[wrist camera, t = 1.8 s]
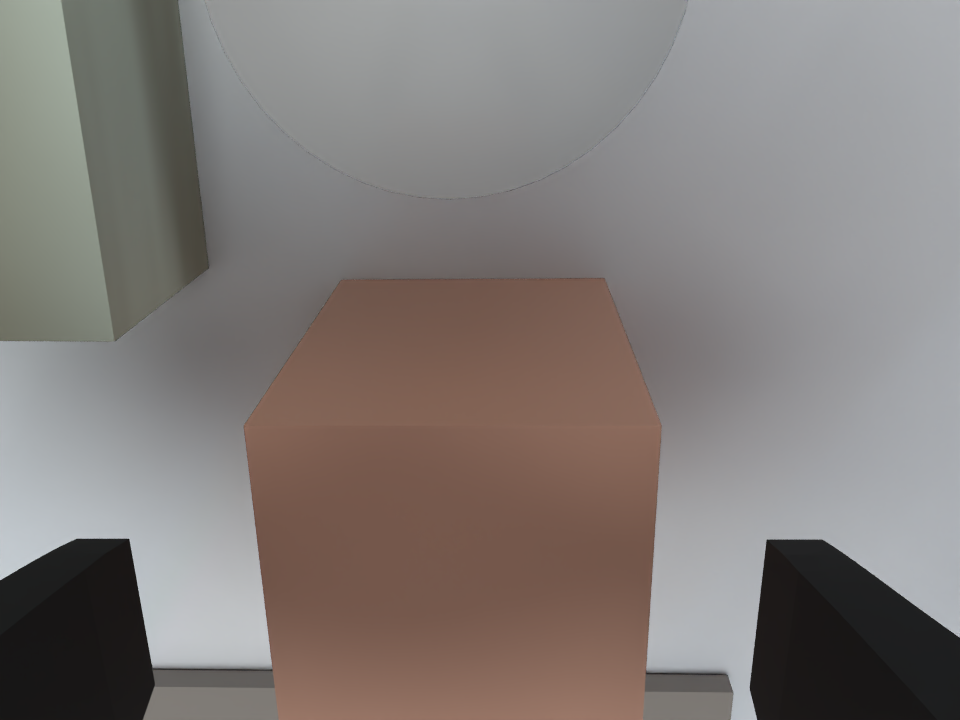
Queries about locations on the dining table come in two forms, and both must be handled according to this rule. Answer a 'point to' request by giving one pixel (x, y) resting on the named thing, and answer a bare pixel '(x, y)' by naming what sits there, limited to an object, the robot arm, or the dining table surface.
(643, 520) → the terracotta block
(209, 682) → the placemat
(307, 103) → the grey cylinder
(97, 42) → the sage block
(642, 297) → the dining table surface
